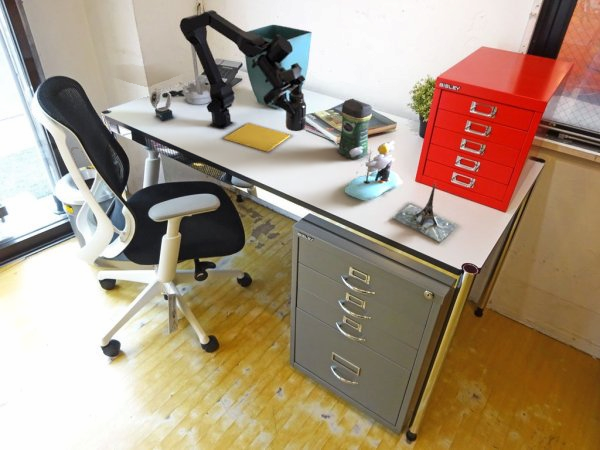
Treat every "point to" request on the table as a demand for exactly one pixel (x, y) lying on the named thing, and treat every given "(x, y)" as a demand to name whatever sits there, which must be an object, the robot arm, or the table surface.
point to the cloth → (257, 137)
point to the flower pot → (298, 55)
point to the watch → (161, 112)
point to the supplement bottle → (296, 112)
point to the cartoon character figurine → (374, 175)
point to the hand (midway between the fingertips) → (299, 110)
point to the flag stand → (196, 87)
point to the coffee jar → (354, 127)
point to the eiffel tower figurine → (426, 220)
